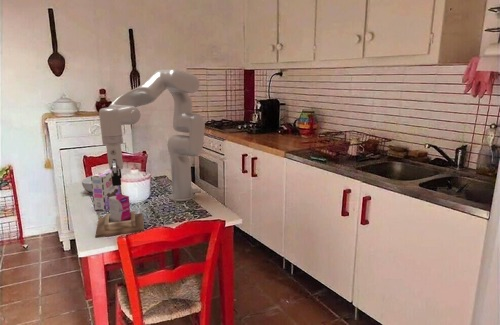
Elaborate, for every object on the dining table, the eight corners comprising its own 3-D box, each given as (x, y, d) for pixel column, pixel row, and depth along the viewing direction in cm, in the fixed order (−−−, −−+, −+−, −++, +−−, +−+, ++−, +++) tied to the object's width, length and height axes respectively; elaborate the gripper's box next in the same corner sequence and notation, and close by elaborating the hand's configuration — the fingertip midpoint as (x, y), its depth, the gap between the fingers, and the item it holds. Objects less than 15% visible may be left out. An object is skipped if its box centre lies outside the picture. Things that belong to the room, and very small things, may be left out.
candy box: (105, 211, 168) (101, 176, 165) (93, 210, 170) (89, 175, 166) (121, 201, 182) (118, 168, 178) (110, 200, 183) (107, 168, 179)
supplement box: (119, 227, 148) (117, 200, 146) (110, 223, 152) (107, 197, 149) (131, 222, 153) (129, 195, 150) (122, 219, 156) (119, 193, 154)
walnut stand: (142, 215, 163) (142, 207, 163) (144, 231, 147) (143, 223, 146) (98, 220, 158) (97, 212, 157) (95, 237, 141) (94, 229, 141)
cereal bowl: (100, 185, 208) (98, 172, 206) (123, 188, 202) (122, 175, 200) (75, 194, 193) (74, 181, 191) (100, 197, 186) (99, 184, 185)
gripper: (122, 143, 137) (127, 187, 141) (122, 135, 153) (127, 175, 157) (100, 144, 135) (106, 189, 139) (103, 136, 151) (108, 176, 155)
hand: (117, 181), depth 148 cm, fingers open, 9 cm apart
